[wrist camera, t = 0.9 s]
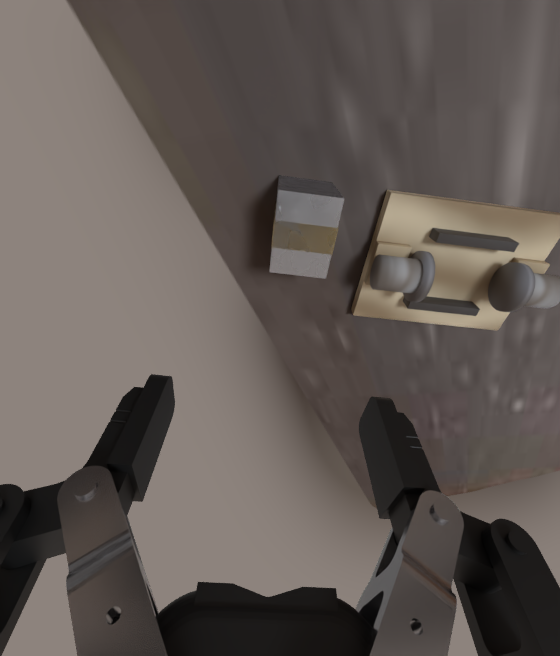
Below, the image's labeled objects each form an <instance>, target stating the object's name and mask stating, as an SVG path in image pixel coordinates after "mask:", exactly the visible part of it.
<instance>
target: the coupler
mask: <svg viewBox="0 0 560 656" xmlns="http://www.w3.org/2000/svg"><path fill="white" fill-rule="evenodd" d="M343 202H344V197H343V196H342V195H341V193H340V192H339V191H338V189H337V188H336V187H335V185H334V184H333V183H332V182H326V181H319V180H311V179H304V178H296V177H289V176H282V175H279V180H278V189H277V198H276V202H275V212H274V221H273V234H272V246H271V259H270V271H269V272H272V273H281V274H290V275H299V276H308V277H317V278H325V279H326V276H327V272H328V267H329V263H330V259H331V255H332V253H333V249H334V244H335V240H336V236H337V231H338V224H339V219H340V215H341V211H342V206H343Z"/></svg>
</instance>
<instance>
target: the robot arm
mask: <svg viewBox="0 0 560 656" xmlns="http://www.w3.org/2000/svg"><path fill="white" fill-rule="evenodd" d="M174 406H175V399H174V390H173V381H172V377H171V376H162V375H150V376H149V378H148V380H147V382H146V384H145V386H144V388H140V387H134V388H133V389H132V390H131V391H130V392H128V393H127V394H126V395H125V396H124V397H123V398H122V400H121V402H120V403H119V405H118V407H117V409H116V412H115V413H114V414H113V416H112V418H111V421H110V422H109V423H108V425H107V427H106V429H105V431H104V433H103V434H102V436H101V438H100V440H99V442H98V444H97V445H96V447H95V449H94V451H93V453H92V454H91V456H90V458H89V460H88V462H87V463H86V464H85V466H84V467H83V468H82V469H80V470H78V471H76V472H75V473H74V474H72V475H71V476H70V477H69V478H68V479H67V480H65V481H63V482H60V483H58V484H54V485H50V486H46V487H41V488H37V489H33V490H28V491H24V492H23V490H22V489H21V488H20V487H18V486H16V485H13V484H3V485H0V656H1V655H2V653H3V651H4V649H5V647H6V645H7V642H8V640H9V638H10V636H11V634H12V632H13V630H14V628H15V625H16V623H17V621H18V619H19V617H20V615H21V612H22V610H23V608H24V606H25V604H26V602H27V600H28V598H29V595H30V593H31V591H32V589H33V587H34V585H35V583H36V580H37V578H38V576H39V574H40V572H41V570H42V568H43V565H44V563H45V561H46V559H47V558H51V557H54V556H57V555H61V554H64V553H66V555H67V561H68V567H69V574H68V576H67V580H66V582H67V583H66V584H67V595H68V600H69V607H70V613H71V619H72V625H73V631H74V638H75V643H76V649H77V656H447V655H448V650H449V645H450V638H451V634H452V628H453V624H454V618H455V613H456V605H457V600H456V596H455V595H454V594H453V593H452V590H451V586H452V581H453V579H454V582H455V584H456V588H457V591H458V594H459V597H460V600H461V603H462V606H463V609H464V613H465V616H466V619H467V622H468V625H469V628H470V631H471V634H472V637H473V641H474V644H475V647H476V650H477V653H478V656H560V588H559V586H558V584H557V582H556V580H555V578H554V576H553V575H552V573H551V571H550V569H549V567H548V565H547V563H546V561H545V560H544V558H543V556H542V554H541V552H540V550H539V548H538V547H537V545H536V543H535V542H534V540H533V539H532V538H531V537H530V535H529V534H528V533H527V532H526V531H525V530H524V529H522V528H521V527H520V526H518V525H517V524H515V523H513V522H512V521H509V520H506V519H497V520H495V521H494V522H492V523H491V524H489V523H486V522H484V521H482V520H479V519H477V518H474V517H472V516H469V515H467V514H465V513H463V512H461V511H459V509H458V507H457V506H456V505H455V504H454V503H453V501H452V500H450V499H449V498H448V497H447V496H445V495H444V494H442V493H441V491H440V489H439V487H438V485H437V482H436V480H435V477H434V475H433V473H432V470H431V468H430V465H429V463H428V460H427V458H426V456H425V453H424V451H423V450H422V446H421V444H420V441H419V439H418V438H417V437H418V436H417V434H416V431H415V429H414V427H413V424H412V423H411V422H410V421H409V419H408V418H407V417H406V416H405V415H404V413H399V412H397V410H396V408H395V405H394V403H393V401H392V399H390V398H381V397H371V398H370V400H369V402H368V404H367V406H366V408H365V410H364V412H363V414H362V417H361V419H360V422H359V434H360V438H361V442H362V447H363V451H364V455H365V459H366V463H367V468H368V472H369V476H370V480H371V484H372V489H373V493H374V497H375V501H376V505H377V509H378V514H379V518H382V519H390V520H391V523H392V529H391V531H390V533H389V535H388V538H387V540H386V543H385V545H384V548H383V550H382V553H381V555H380V558H379V560H378V563H377V565H376V567H375V570H374V572H373V575H372V577H371V579H370V582H369V583H368V585H367V587H366V588H365V590H364V592H363V593H362V596H361V597H360V600H359V602H358V604H357V607H356V609H354V608H353V607H351V606H350V605H349V604H347V603H346V602H344V601H342V600H341V599H338V598H337V594H336V588H316V587H301V588H298V589H294V590H291V591H288V592H285V593H282V594H278V595H275V596H272V597H265V596H262V595H260V594H257V593H255V592H252V591H250V590H247V589H245V588H242V587H240V586H237V585H235V584H230V583H209V582H198V585H197V591H194V592H190V593H188V594H186V595H183V596H182V597H179V598H178V599H176V600H174V601H173V602H171V603H170V604H169V605H168V606H166V607H165V608H164V609H163V610H162V611H161V612H160V613H159V612H158V609H157V607H156V603H155V600H154V597H153V594H152V591H151V588H150V585H149V582H148V579H147V576H146V573H145V570H144V567H143V564H142V561H141V558H140V555H139V551H138V548H137V545H136V542H135V539H134V536H133V533H132V530H131V526H130V523H129V520H128V517H127V514H128V512H129V509H130V507H131V504H132V501H141V502H142V501H143V499H144V496H145V493H146V490H147V487H148V484H149V482H150V479H151V476H152V473H153V470H154V467H155V465H156V462H157V459H158V456H159V453H160V451H161V448H162V445H163V442H164V439H165V436H166V433H167V431H168V428H169V425H170V422H171V419H172V416H173V412H174Z"/></svg>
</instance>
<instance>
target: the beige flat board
mask: <svg viewBox="0 0 560 656" xmlns="http://www.w3.org/2000/svg"><path fill="white" fill-rule="evenodd" d="M559 238H560V213H557V212H549V211H542V210H534V209H527V208H520V207H512V206H505V205H497V204H490V203H482V202H475V201H467V200H460V199H452V198H445V197H437V196H430V195H423V194H415V193H408V192H400V191H393V190H387V192H386V195H385V198H384V202H383V205H382V208H381V212H380V215H379V218H378V222H377V225H376V228H375V232H374V235H373V238H372V242H371V245H370V248H369V251H368V255H367V258H366V261H365V265H364V268H363V271H362V275H361V278H360V281H359V285H358V288H357V291H356V294H355V298H354V301H353V304H352V308H351V310H352V313H353V315H356V316H365V317H375V318H384V319H394V320H403V321H413V322H422V323H432V324H441V325H451V326H460V327H470V328H479V329H489V330H498V329H499V328H500V326H501V325H502V323H503V322H504V320H505V319H506V317H507V316H508V314H509V313H510V312H515V311H517V310H519V309H521V308H522V307H524V306H527V307H536V308H551V307H554V306H555V305H557V304H558V303H559V302H560V277H558V276H556V275H547V274H544V273H545V272H546V270H547V269H548V267H549V266H550V264H548V263H547V262H545V261H544V260H545V259H546V257H547V256H548V254H549V253H550V251H551V250H552V248H553V247H554V245H555V244H556V242H557V241H558V239H559Z"/></svg>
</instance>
